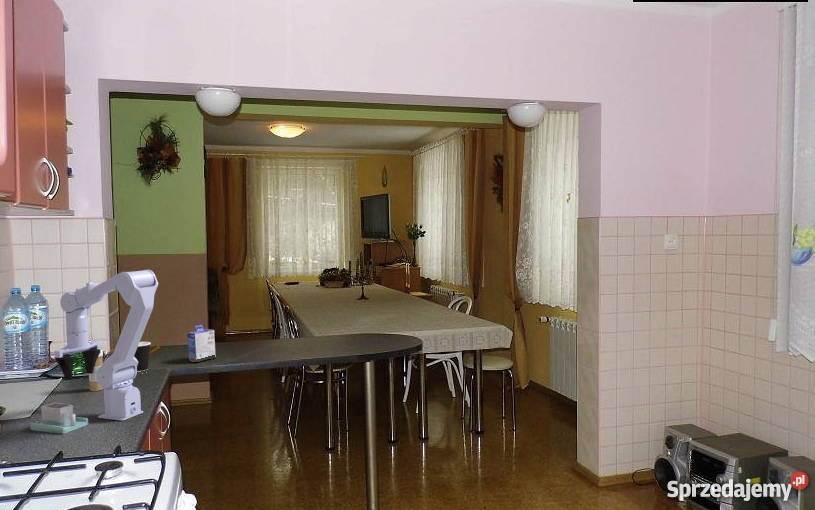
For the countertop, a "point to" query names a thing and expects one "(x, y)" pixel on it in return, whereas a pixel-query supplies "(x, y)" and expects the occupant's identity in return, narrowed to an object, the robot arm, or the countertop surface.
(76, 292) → the robot arm
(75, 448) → the countertop surface
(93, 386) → the sprinkles bottle
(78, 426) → the teal base with pegs
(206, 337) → the ink cartridge box
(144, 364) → the dixie cup
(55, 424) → the drive block
